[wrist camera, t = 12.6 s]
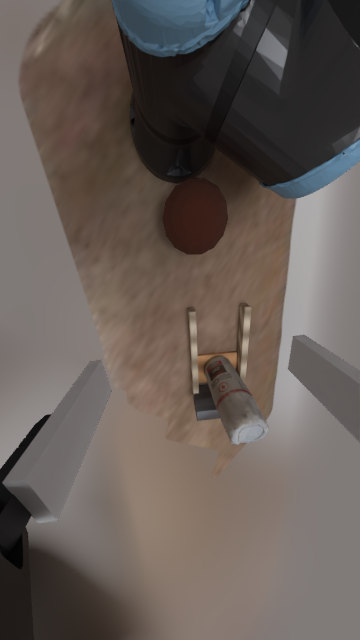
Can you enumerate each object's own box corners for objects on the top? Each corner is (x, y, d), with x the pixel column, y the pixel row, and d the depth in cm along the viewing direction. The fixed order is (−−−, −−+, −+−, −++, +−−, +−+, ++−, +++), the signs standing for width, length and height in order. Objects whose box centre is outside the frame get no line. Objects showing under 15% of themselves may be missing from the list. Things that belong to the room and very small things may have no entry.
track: (187, 308, 43) (192, 321, 34) (245, 303, 43) (264, 315, 35) (192, 394, 52) (197, 420, 44) (239, 389, 53) (253, 414, 44)
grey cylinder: (231, 352, 47) (272, 415, 29) (234, 376, 50) (273, 448, 32) (201, 358, 47) (222, 426, 29) (205, 382, 50) (227, 457, 32)
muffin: (208, 260, 39) (220, 262, 30) (159, 248, 38) (156, 246, 28) (224, 199, 35) (245, 179, 26) (170, 183, 34) (171, 156, 24)
